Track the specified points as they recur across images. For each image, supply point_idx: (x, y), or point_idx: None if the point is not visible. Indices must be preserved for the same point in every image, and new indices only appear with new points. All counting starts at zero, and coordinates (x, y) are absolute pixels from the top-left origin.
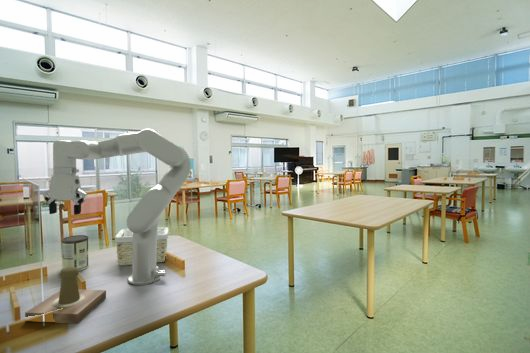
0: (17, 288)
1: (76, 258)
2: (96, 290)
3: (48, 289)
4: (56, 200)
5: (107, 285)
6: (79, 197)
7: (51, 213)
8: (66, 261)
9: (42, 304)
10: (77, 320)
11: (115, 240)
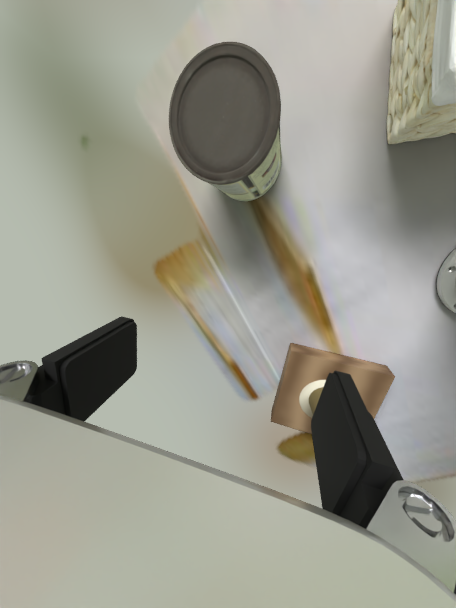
0: (184, 289)
1: (257, 188)
2: (371, 373)
3: (246, 303)
4: (25, 401)
5: (377, 302)
6: (429, 593)
7: (134, 371)
8: (229, 194)
9: (284, 404)
10: None
11: (440, 96)
